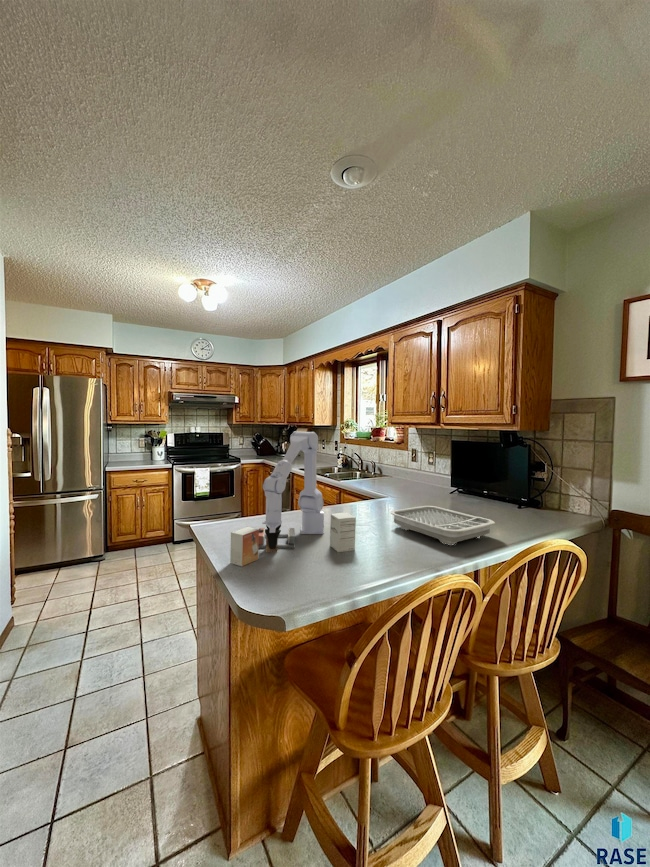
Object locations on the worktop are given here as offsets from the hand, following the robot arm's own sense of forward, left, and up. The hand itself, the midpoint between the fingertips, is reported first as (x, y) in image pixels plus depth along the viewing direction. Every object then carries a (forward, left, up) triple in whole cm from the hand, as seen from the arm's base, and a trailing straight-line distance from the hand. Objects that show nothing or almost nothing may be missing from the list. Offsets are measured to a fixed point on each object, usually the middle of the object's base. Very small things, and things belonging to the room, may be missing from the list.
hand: (272, 546), depth 129 cm
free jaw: (+5, -8, -2) cm, 10 cm away
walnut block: (0, 0, -1) cm, 2 cm away
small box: (+9, +10, -2) cm, 14 cm away
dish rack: (-72, -18, -2) cm, 74 cm away
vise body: (+1, -8, -2) cm, 8 cm away
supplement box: (-26, -1, -2) cm, 26 cm away
